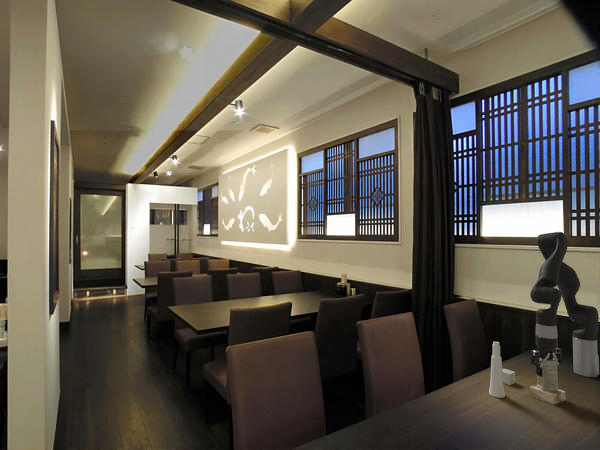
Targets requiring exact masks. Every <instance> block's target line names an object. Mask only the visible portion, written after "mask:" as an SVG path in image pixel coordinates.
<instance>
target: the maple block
mask: <svg viewBox="0 0 600 450" xmlns="http://www.w3.org/2000/svg"><path fill="white" fill-rule="evenodd" d="M528 389H529V396H531V397H533V398H535V399H537V400H540V401H543V402H544V403H546V404H547V403H548V404H550V405H551V406H552V405H556V404H559V403H562V402H565V401H567V397H566V394H567V393H566V391H565V390H564V389H563V390H562V389H559V388H558V391H542V390H541V389H540V388H538V387H537V384H534V385H530V386H529V387H528Z"/></svg>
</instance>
